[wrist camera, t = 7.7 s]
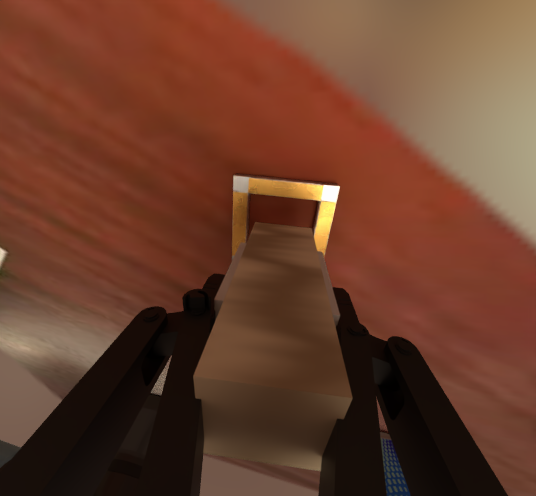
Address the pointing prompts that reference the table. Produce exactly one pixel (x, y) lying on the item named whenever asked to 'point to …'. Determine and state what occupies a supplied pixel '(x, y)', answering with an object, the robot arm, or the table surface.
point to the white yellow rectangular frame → (282, 188)
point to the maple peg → (273, 356)
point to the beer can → (392, 469)
